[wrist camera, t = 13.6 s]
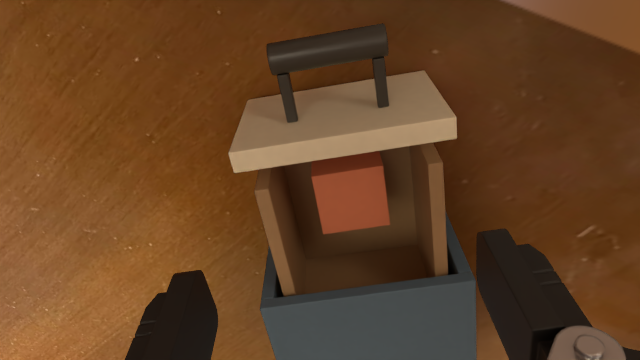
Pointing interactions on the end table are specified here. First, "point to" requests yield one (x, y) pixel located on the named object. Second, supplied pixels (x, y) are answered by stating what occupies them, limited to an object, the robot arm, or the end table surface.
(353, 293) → the cabinet
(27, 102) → the end table surface
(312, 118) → the drawer
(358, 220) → the block
